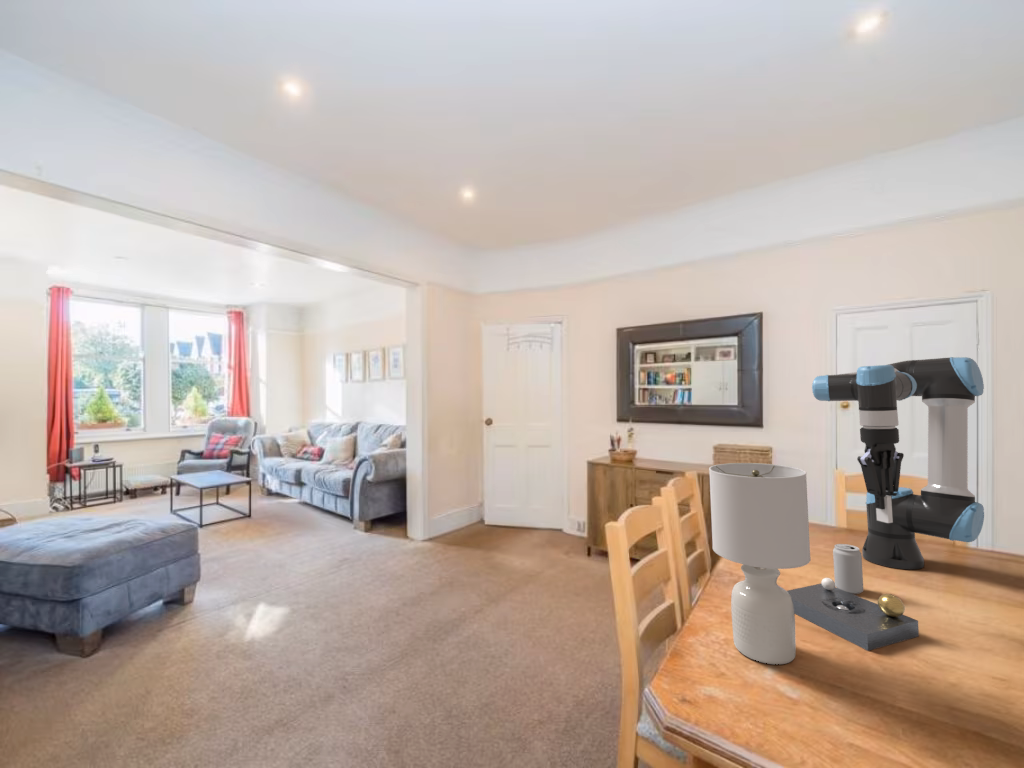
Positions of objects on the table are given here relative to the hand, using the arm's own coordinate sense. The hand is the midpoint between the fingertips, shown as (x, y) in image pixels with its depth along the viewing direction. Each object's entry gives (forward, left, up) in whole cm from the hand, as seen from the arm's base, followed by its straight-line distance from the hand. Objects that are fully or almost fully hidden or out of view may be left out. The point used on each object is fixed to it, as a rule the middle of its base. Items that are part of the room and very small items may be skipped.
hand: (884, 521), depth 113 cm
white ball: (+8, -9, -18) cm, 22 cm away
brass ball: (+8, +6, -17) cm, 20 cm away
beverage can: (-4, -13, -23) cm, 26 cm away
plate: (+13, -2, -23) cm, 26 cm away
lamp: (+41, +1, -23) cm, 47 cm away
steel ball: (+14, -2, -21) cm, 25 cm away
